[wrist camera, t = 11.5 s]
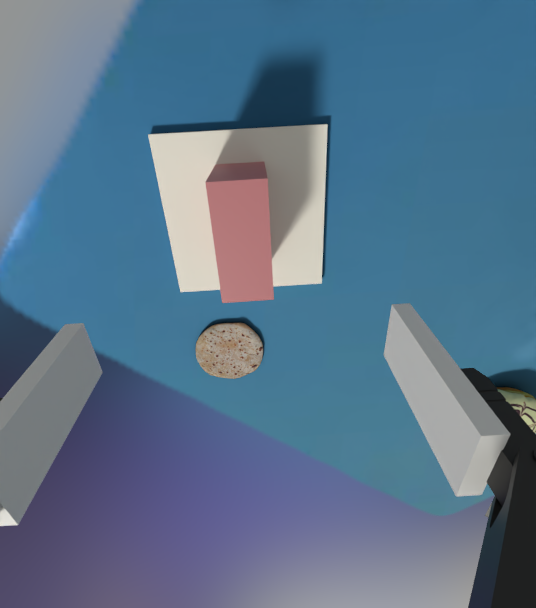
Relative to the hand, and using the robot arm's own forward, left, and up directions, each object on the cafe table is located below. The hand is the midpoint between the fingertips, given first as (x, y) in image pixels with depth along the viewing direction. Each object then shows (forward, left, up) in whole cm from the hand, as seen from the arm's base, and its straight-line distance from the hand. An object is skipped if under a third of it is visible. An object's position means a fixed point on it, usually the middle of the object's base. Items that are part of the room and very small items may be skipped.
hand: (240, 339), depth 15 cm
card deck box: (0, 0, -18) cm, 18 cm away
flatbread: (+3, +15, -19) cm, 24 cm away
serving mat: (0, 0, -18) cm, 18 cm away
